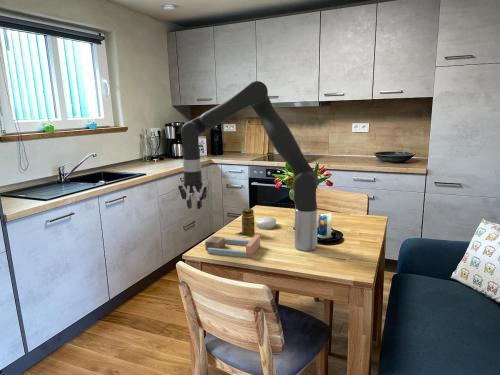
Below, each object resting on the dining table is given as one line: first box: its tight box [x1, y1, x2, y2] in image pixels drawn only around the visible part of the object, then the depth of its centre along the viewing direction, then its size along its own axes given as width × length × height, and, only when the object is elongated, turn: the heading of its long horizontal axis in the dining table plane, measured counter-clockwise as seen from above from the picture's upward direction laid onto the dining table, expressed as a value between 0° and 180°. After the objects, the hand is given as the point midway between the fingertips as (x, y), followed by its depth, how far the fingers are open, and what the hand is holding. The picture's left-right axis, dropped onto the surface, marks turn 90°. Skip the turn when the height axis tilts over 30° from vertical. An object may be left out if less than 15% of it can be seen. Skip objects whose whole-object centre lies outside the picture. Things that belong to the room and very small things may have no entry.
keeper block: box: [204, 235, 226, 251], centre depth 163 cm, size 6×7×4 cm
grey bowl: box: [255, 216, 277, 230], centre depth 190 cm, size 10×10×3 cm
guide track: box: [207, 234, 261, 259], centre depth 160 cm, size 19×14×5 cm
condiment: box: [235, 208, 258, 239], centre depth 178 cm, size 7×8×12 cm
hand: (194, 208), depth 162 cm, fingers open, 3 cm apart
